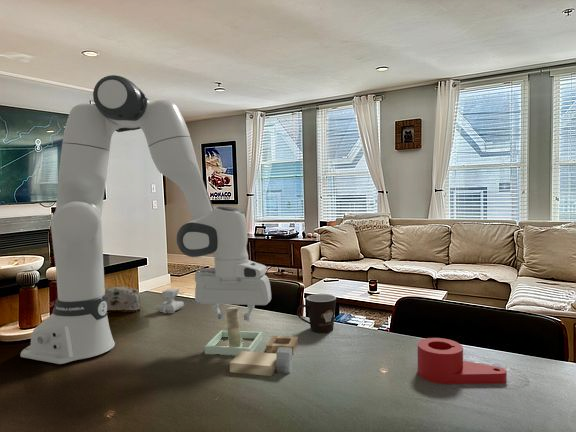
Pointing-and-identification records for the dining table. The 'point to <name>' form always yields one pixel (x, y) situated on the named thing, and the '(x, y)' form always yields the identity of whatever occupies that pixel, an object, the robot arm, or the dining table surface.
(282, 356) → the gray rectangular block
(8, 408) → the dining table surface
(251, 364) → the tan rectangular slab
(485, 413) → the dining table surface
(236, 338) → the dowel
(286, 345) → the socket block
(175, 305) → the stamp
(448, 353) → the lever
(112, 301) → the stone
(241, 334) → the tray
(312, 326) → the coffee mug
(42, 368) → the dining table surface
